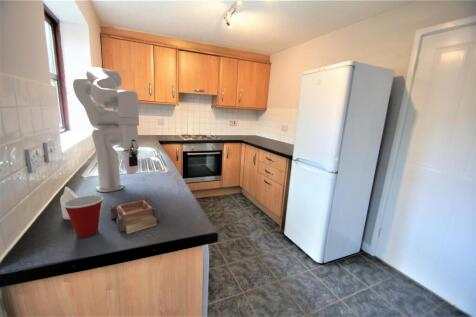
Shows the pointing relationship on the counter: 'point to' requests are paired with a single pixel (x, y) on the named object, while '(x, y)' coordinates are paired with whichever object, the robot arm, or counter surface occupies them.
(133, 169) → the smoothie
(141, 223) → the chassis
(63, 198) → the roll
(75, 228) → the plastic cup
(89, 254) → the counter surface
